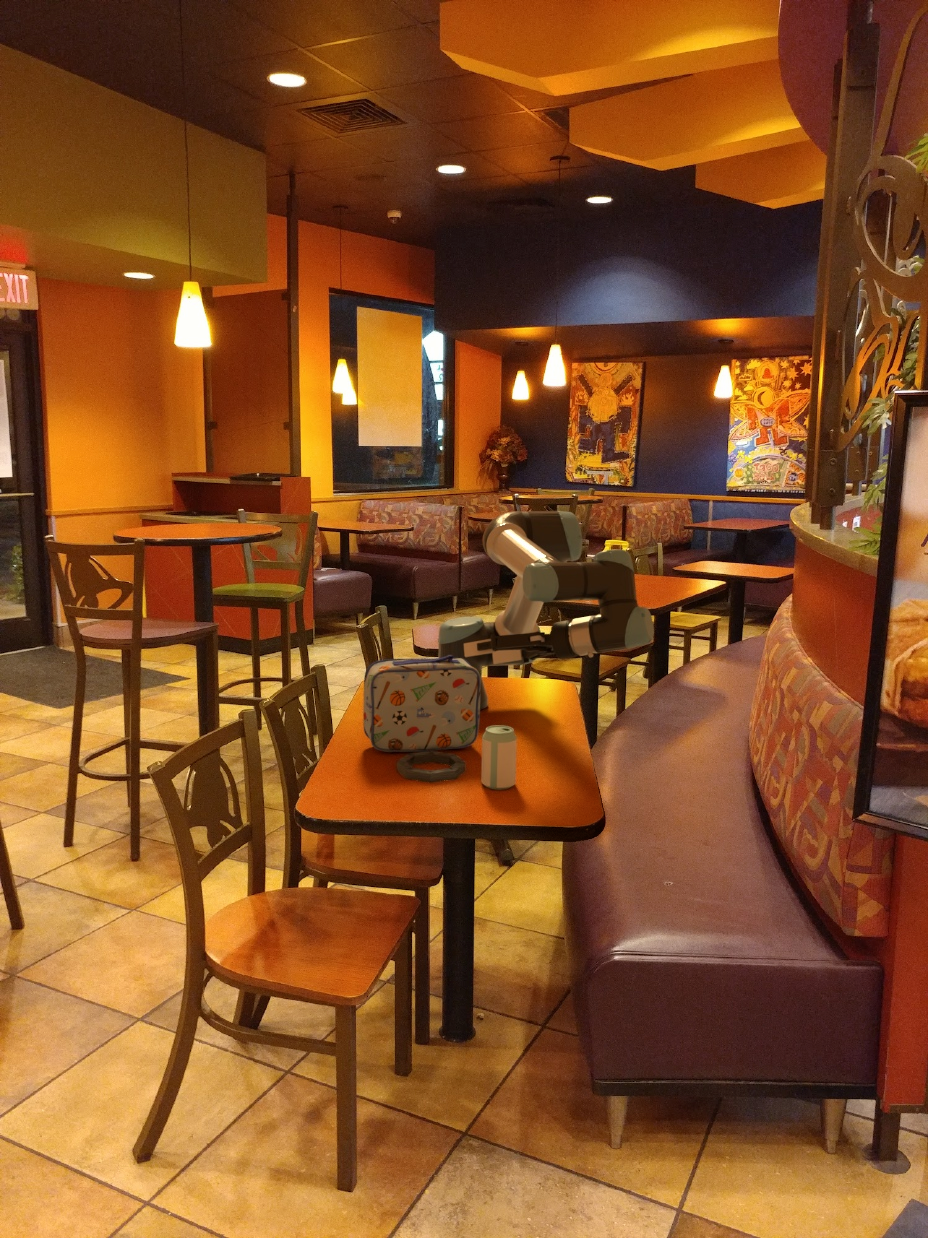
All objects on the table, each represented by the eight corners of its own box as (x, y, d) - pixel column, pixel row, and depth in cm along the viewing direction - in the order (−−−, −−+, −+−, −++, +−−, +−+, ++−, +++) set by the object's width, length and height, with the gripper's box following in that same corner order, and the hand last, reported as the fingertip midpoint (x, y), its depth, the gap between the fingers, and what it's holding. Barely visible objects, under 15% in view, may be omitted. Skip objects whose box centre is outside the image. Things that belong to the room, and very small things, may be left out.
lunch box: (474, 737, 230) (476, 647, 226) (487, 750, 221) (489, 656, 216) (360, 744, 223) (360, 651, 219) (368, 758, 213) (368, 662, 209)
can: (488, 777, 203) (489, 722, 201) (519, 782, 200) (521, 726, 198) (476, 788, 197) (477, 731, 194) (508, 793, 194) (510, 736, 192)
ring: (415, 757, 215) (415, 748, 214) (472, 765, 210) (472, 756, 210) (388, 776, 202) (388, 767, 202) (448, 785, 197) (448, 776, 197)
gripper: (553, 649, 180) (453, 665, 189) (597, 663, 202) (506, 677, 211) (549, 609, 181) (450, 628, 191) (593, 628, 203) (502, 644, 212)
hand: (479, 654), depth 201 cm, fingers open, 13 cm apart
